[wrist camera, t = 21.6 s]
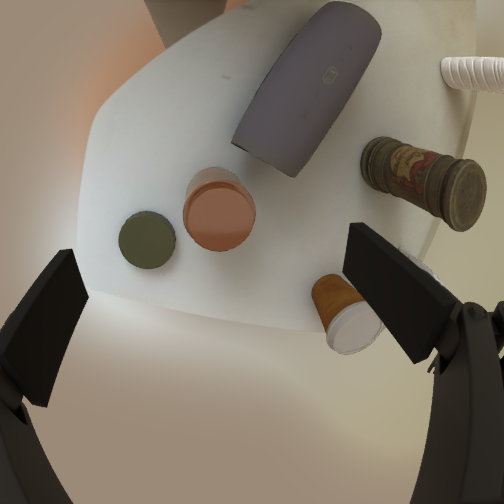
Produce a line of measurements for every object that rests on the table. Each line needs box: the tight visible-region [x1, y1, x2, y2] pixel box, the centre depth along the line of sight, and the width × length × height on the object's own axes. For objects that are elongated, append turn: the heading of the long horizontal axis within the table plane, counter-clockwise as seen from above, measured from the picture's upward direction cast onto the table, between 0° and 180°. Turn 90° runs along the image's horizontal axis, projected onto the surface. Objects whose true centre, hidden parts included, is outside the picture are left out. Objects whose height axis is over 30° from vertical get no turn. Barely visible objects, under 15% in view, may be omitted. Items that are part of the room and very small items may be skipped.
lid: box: [119, 211, 176, 269], centre depth 35 cm, size 8×8×2 cm
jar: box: [183, 167, 256, 252], centre depth 31 cm, size 8×8×10 cm
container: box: [361, 137, 487, 232], centre depth 30 cm, size 9×9×18 cm
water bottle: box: [441, 57, 504, 94], centre depth 20 cm, size 9×6×25 cm
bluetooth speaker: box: [231, 1, 382, 178], centre depth 26 cm, size 23×9×10 cm, turn 150°
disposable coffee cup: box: [312, 274, 384, 355], centre depth 41 cm, size 10×10×12 cm
